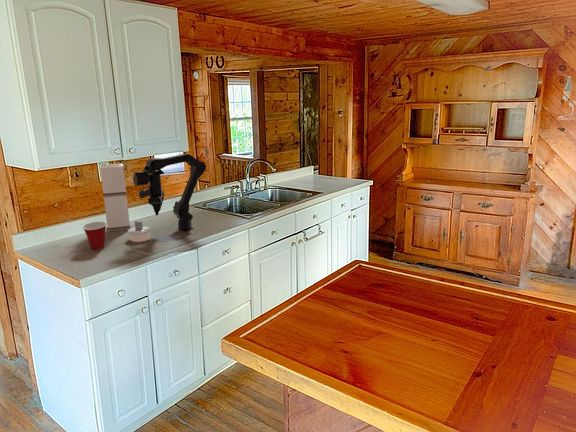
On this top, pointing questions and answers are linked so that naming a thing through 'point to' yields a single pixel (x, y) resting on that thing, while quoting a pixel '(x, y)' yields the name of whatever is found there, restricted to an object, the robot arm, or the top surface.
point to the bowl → (139, 237)
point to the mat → (165, 237)
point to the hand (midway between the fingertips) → (158, 212)
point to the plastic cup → (95, 234)
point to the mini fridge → (115, 197)
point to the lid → (139, 228)
